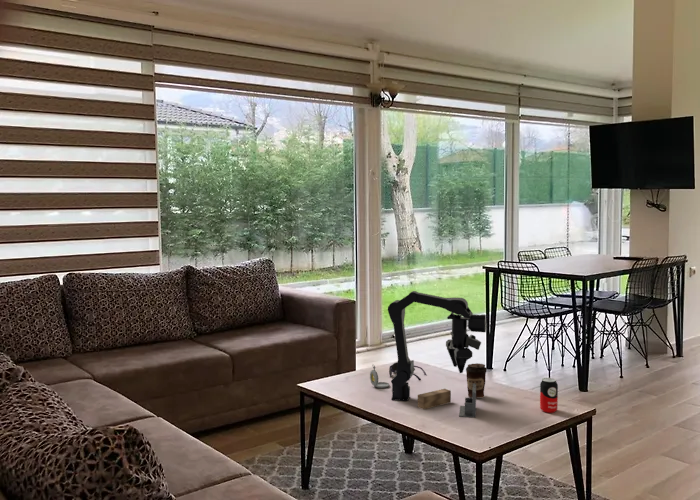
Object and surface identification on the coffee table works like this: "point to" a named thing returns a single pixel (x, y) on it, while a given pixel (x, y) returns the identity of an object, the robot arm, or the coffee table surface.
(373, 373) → the pocket watch
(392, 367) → the sunglasses
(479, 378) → the coffee cup
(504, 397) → the coffee table surface
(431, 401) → the rail
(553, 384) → the beverage can
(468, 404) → the bracket
